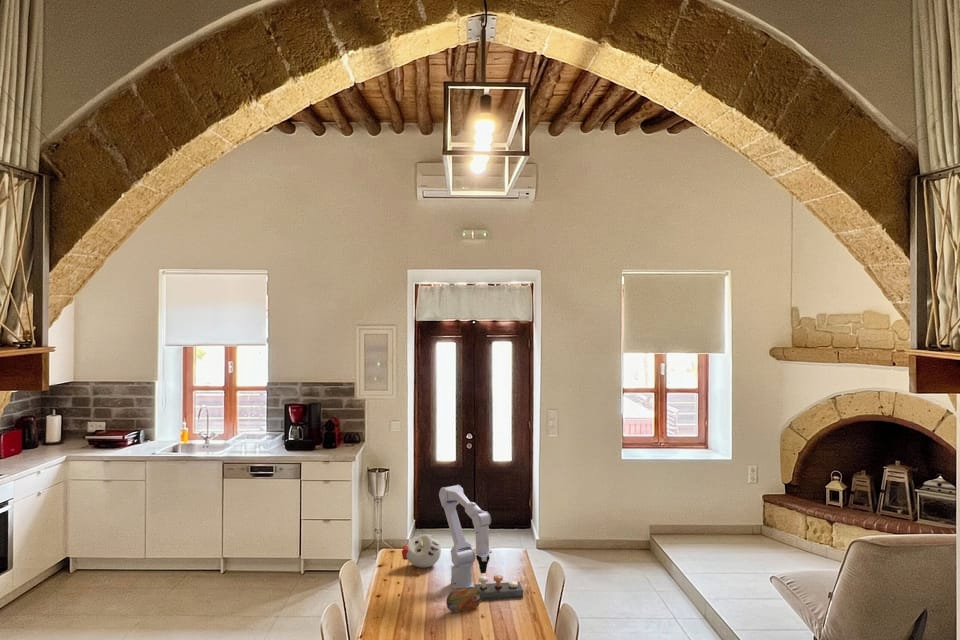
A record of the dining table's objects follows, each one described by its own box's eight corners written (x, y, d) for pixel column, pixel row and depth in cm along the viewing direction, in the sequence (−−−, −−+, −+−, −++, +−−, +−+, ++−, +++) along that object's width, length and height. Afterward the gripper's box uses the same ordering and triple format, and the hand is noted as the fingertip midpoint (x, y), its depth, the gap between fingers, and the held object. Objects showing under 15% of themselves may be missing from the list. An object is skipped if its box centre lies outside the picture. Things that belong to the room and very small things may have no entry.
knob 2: (509, 595, 280) (509, 584, 280) (508, 591, 284) (508, 581, 284) (518, 594, 281) (518, 584, 281) (517, 591, 285) (517, 581, 285)
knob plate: (476, 600, 276) (476, 593, 276) (474, 591, 286) (474, 584, 286) (523, 597, 278) (523, 590, 278) (519, 588, 288) (519, 581, 288)
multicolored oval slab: (448, 615, 262) (448, 594, 262) (445, 612, 264) (444, 591, 265) (481, 607, 269) (481, 586, 269) (478, 604, 271) (477, 584, 272)
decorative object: (399, 564, 323) (398, 534, 323) (435, 559, 329) (435, 529, 329) (405, 575, 308) (405, 542, 309) (444, 569, 314) (443, 538, 315)
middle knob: (494, 588, 280) (494, 578, 280) (493, 585, 284) (493, 575, 284) (503, 588, 280) (503, 578, 280) (502, 584, 284) (502, 574, 284)
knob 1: (479, 589, 279) (478, 579, 279) (478, 586, 283) (478, 576, 283) (488, 589, 280) (488, 579, 280) (487, 585, 284) (487, 575, 284)
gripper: (493, 545, 275) (494, 578, 275) (489, 535, 290) (490, 566, 289) (476, 546, 275) (477, 579, 274) (473, 536, 289) (474, 567, 289)
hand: (483, 572), depth 282 cm, fingers closed
